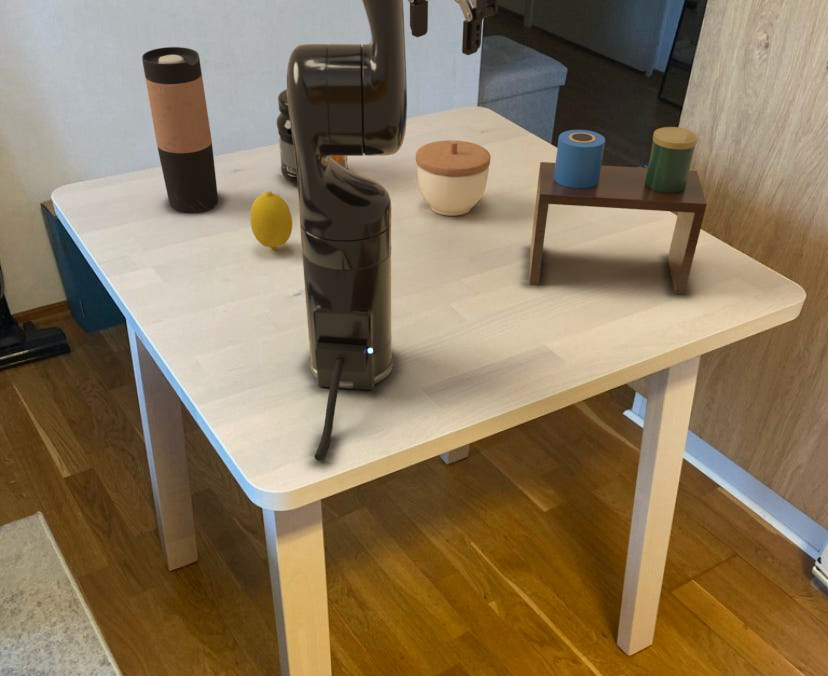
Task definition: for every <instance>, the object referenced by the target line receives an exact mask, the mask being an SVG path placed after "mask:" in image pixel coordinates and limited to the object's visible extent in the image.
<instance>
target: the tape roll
mask: <svg viewBox="0 0 828 676" xmlns="http://www.w3.org/2000/svg"><path fill="white" fill-rule="evenodd" d="M605 145H606V138H605V136H604V135H602V134H600V133H599V132H596V131H592V130H587V129H571V130H570V129H569V130H565V131H563V132H561V133H560V134H559V135H558V140H557V148H556V155H555V157H556V158H555V162H554V163H555V171H554V180H555V181H556V182H557V183H558V184H560V185H562V186H565V187H569V188H578V189H582V188H590V187H593V186H595V185H597V184H598V182H599V177H600V171H601V165H602V164H603V159H604V151H605Z"/></svg>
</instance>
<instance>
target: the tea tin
mask: <svg viewBox="0 0 828 676" xmlns="http://www.w3.org/2000/svg"><path fill="white" fill-rule="evenodd" d="M698 139H699V136H698V134H697V133H695V132H694V131H692V130H690V129H688V128H685V127H679V126H678V127H677V126H663V127H660V128H657V129H655V130H654V132H653V135H652V145H651V150H650V155H649V159H648V164H647V168H648V169H647V174H646V179H645V184H646V186H647V187H648V188H650V189H652V190H655V191H658V192H663V193H676V192H680V191H683V190H684V189H685V188H686V184H687V180H688V175H689V171H691V166H692V162H693V157H694V153H695V149H696V146H697V144H698Z"/></svg>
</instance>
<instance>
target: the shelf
mask: <svg viewBox="0 0 828 676" xmlns="http://www.w3.org/2000/svg"><path fill="white" fill-rule="evenodd" d="M555 163H556V162H549V161H548V162H547V161H540V162H539V169H538V178H537V188H536V194H535V195H536V196H535V207H534V213H533V221H532V222H533V223H532V231H531V238H530V240H531V242H530V248H529V252H530V253H529V277H528V278H529V281H528V283H529V286H530V285H531V286H539V284H540V277H541V275H540V274H541V269H542V260H543V253H544V252H543V250H544V243H545V237H546V236H545V235H546V226H547V219H548V211H549V205H557V206H558V205H559V206H572V207H573V206H574V207H590V208H591V207H592V208H607V209H622V210H623V209H625V210H640V211H657V212H672V213H673V212H674V213H677V216H676V220H675V225H674V229H673V233H672V238H671V243H670V245H669V246H670V248H669V252H668V254H667V261H668V267H669V270H670V271H669V272H670V276H671V280H672V285H673V290H674V294H675V295H683V296H684V295H685V293H686V289H687V285H688V281H689V278H690V274H691V270H692V266H693V262H694V258H695V255H696V249H697V245H698V243H699V238H700V234H701V229H702V225H703V221H704V218H705V213H706V211H707V206H708V203H707V199H706V197H705V196H706V195H705V193H704V189H703V185H702V183H701V180H700V176H699V172H698V170H690V171H689V175H688V180H687V184H686V188H685V189H684V190H683V191H680V192H676V193H663V192H658V191H655V190H652V189H650V188H648V187H647V186H646V184H645V179H646V174H647V169H648V167H635V166H619V165H617V166H616V165H602V164H601V171H600V177H599V182H598V184H597V185H595V186H593V187H590V188H582V189H578V188H569V187H565V186H562V185H560V184H558V183H557V182H556V181H555V180H554V171H555Z"/></svg>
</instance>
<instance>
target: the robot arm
mask: <svg viewBox="0 0 828 676" xmlns="http://www.w3.org/2000/svg"><path fill="white" fill-rule="evenodd" d="M407 1H408V2H409V27H410V30H411V35H412V36H413V37H416V38H420V37H424V36H425V35H427V34H428V29H429V0H407ZM454 1H455V3H457V4H458V5H459V7H460V10H461V12H462V15H463V17H464V19H465V20H463V22H462V44H461V45H462V46H461V53H462V54H463V55H465V56H470V55H471V56H472V55H473V54H475V53H477V52H478V50H479V49H480V48H481V45H482V31H483V20H484V19H485V18H489V17H491V16H494V15H496V14H497V13H498V10H499V0H454ZM361 3H362V6H363V8H364V12H365V15H366V18H367V23H368V26H369V31H370V42H369V43H368V44H366V43H365V44H360V43H329V44H328V43H307V44H305V43H304V44H300V45H297V46H296V47H295V48H294V49H293V50H292V51H291V53H290V55H289V58H288V62H287V68H286V89H287V99H288V109H289V117H290V125H291V132H292V139H293V146H294V154H295V162H296V171H297V183H298V186H297V195H298V196H297V197H298V210H299V211H298V212H299V226H300V228H299V229H300V239H301V240H300V241H301V255H302V266H303V267H302V269H303V281H304V293H305V295H304V296H305V305H306V320H307V321H306V322H307V333H308V345H309V368H310V372H311V374H312V375H313V377H314V378H316V379H317V380H316V381H317V386H318V387H324V388H329V391H328V396H327V403H326V409H325V417H324V422H323V423H324V424H323V430H322V435H321V438H320V441H319V444H318V447H317V449H316V451H315V453H314V459H315V460H316V462H322V461H323V460H324V457H325V455H326V452H327V450H328V447H329V444H330V441H331V436H332V433H333V426H334V419H335V412H336V405H337V400H338V394H339V389H352V390H364V391H373V389H374V386H375V385H376V384H378V383H380V382H382V381H383V380H385V379H386V378H387V377H388V376H389V375H390V373H391V372H392V370H393V354H392V353H393V352H392V351H393V347H392V344H393V343H392V341H393V340H392V201H391V197H390V193H389V192H388V191H387V189H386V188H385V187H384V186H383V185H382V184H380V183H378V182H377V181H376V180H373V179H371V178H369V177H366V176H364V175H361V174H359V173H356V172H354V171H352V170H349V168H348V169H346V168H344V167H342V166H341V165H340V164H338V163H337V162H336V161H335V160H333V159H332V158H331V157H330V156H347V157H355V156H356V157H363V156H365V157H377V156H379V157H380V156H381V157H382V156H383V157H385V156H391V155H395V154H396V153H398V151H400V149H401V148H402V145H403V143H404V141H405V136H406V131H407V130H406V129H407V120H408V85H407V62H406V61H407V59H406V40H405V39H406V38H405V37H406V35H405V17H404V16H405V15H404V13H405V12H404V0H361Z"/></svg>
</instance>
